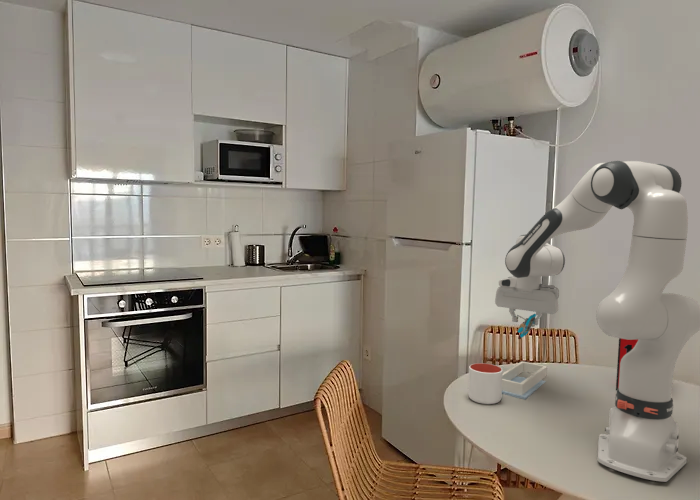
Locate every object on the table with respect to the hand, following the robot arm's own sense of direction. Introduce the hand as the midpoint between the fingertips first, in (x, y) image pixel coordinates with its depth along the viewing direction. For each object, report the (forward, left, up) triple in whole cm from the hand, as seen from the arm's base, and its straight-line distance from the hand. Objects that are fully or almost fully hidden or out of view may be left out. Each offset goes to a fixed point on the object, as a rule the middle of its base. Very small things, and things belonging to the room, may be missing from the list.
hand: (524, 323), depth 165 cm
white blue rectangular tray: (0, 0, -21) cm, 21 cm away
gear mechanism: (0, +3, -5) cm, 6 cm away
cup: (-21, +4, -22) cm, 31 cm away
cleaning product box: (+21, -31, -22) cm, 43 cm away
